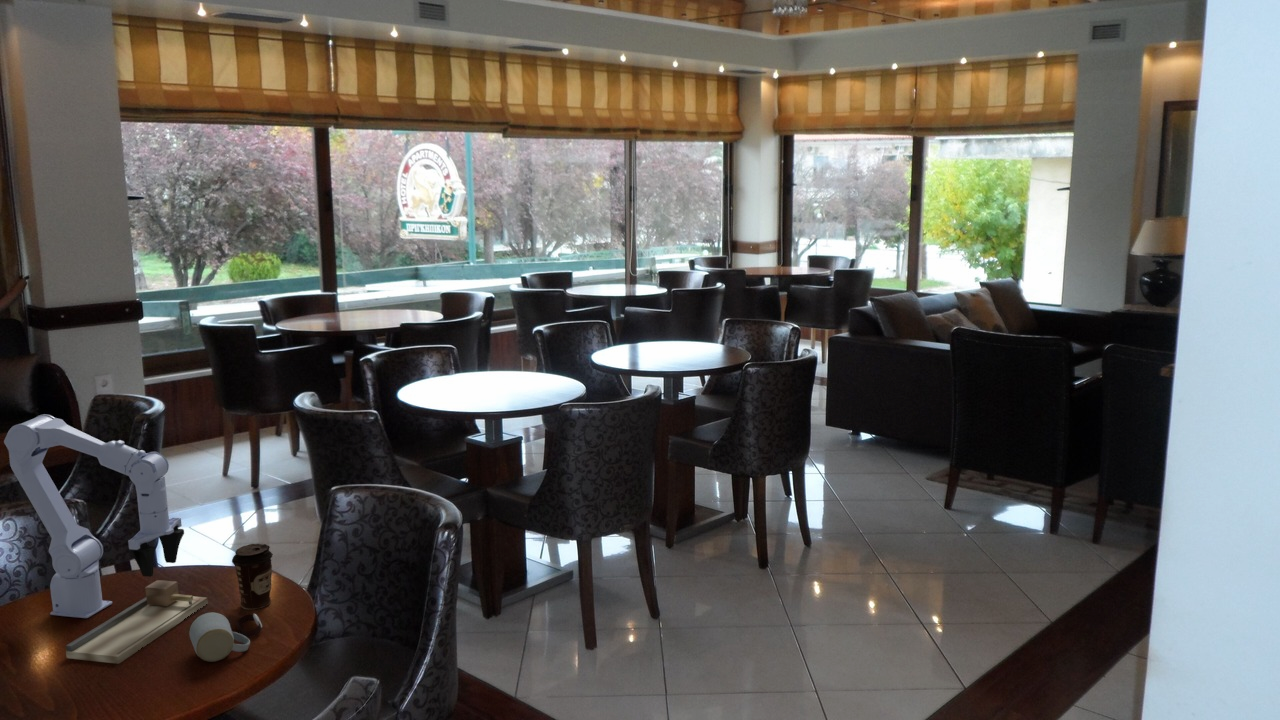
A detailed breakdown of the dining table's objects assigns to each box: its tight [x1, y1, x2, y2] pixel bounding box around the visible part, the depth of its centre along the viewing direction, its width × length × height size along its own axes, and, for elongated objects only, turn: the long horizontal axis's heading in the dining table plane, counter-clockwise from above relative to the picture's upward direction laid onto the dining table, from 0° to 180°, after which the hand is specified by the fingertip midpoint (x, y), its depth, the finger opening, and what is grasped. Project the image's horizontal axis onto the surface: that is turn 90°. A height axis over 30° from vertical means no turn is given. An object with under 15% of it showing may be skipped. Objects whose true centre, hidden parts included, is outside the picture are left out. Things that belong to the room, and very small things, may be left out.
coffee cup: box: [231, 543, 274, 611], centre depth 223 cm, size 9×8×13 cm
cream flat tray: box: [65, 595, 209, 664], centre depth 212 cm, size 12×28×3 cm, turn 168°
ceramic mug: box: [188, 612, 251, 663], centre depth 201 cm, size 11×8×8 cm
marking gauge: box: [145, 579, 194, 606], centre depth 221 cm, size 10×4×4 cm, turn 78°
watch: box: [236, 613, 263, 638], centre depth 211 cm, size 8×5×4 cm, turn 38°
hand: (159, 568), depth 220 cm, fingers open, 7 cm apart
